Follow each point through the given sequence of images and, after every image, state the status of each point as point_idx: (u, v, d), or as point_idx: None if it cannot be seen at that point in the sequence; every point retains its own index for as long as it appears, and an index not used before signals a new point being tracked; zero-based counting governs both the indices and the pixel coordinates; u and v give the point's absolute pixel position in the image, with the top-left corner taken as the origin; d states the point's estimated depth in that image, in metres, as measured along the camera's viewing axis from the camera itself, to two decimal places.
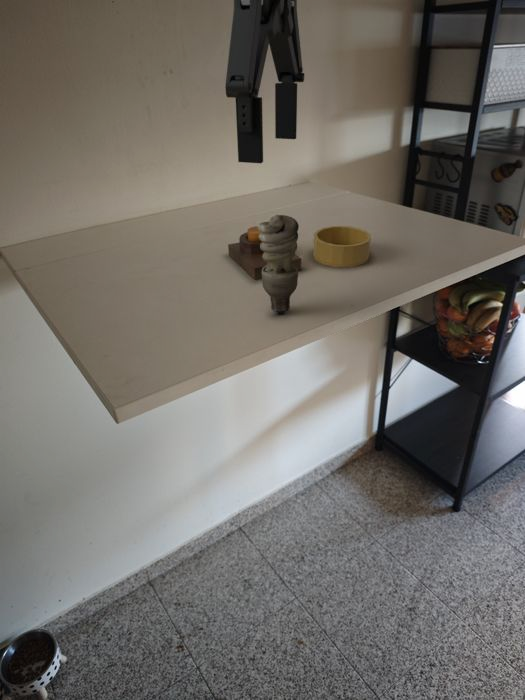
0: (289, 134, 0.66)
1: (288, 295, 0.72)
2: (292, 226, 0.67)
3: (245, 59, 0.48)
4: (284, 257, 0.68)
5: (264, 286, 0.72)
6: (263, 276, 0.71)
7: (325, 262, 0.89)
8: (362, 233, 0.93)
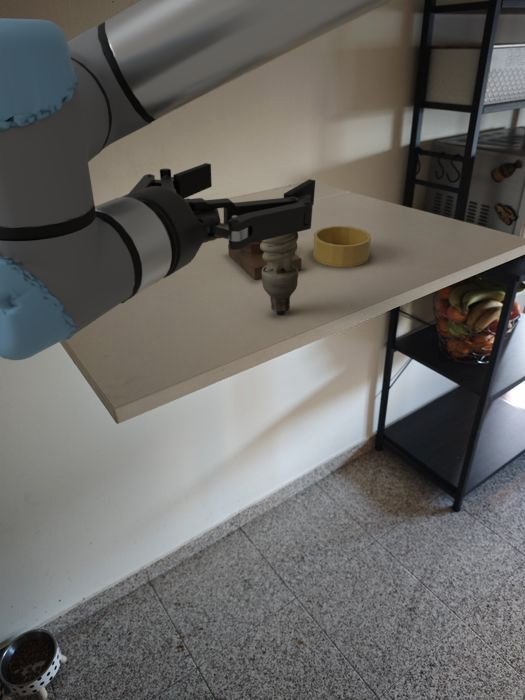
0: (208, 171, 0.60)
1: (288, 295, 0.72)
2: None
3: (291, 215, 0.47)
4: (284, 257, 0.68)
5: (264, 286, 0.72)
6: (263, 276, 0.71)
7: (325, 262, 0.89)
8: (362, 233, 0.93)
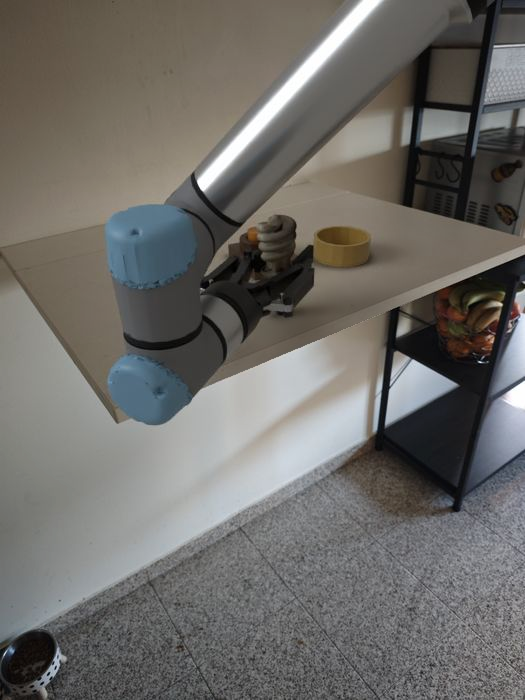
0: None
1: None
2: (290, 225, 0.67)
3: (307, 280, 0.65)
4: (283, 256, 0.68)
5: None
6: (262, 276, 0.71)
7: (325, 262, 0.89)
8: (362, 233, 0.93)
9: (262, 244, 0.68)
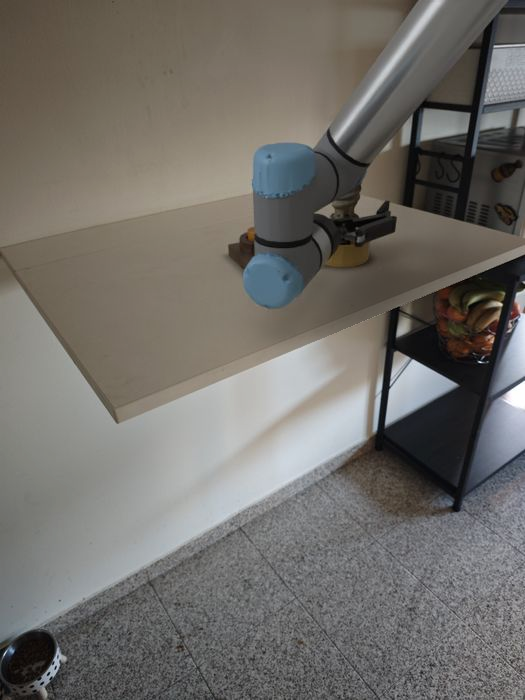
0: None
1: None
2: None
3: (386, 224, 0.79)
4: (350, 204, 0.85)
5: None
6: None
7: None
8: None
9: None
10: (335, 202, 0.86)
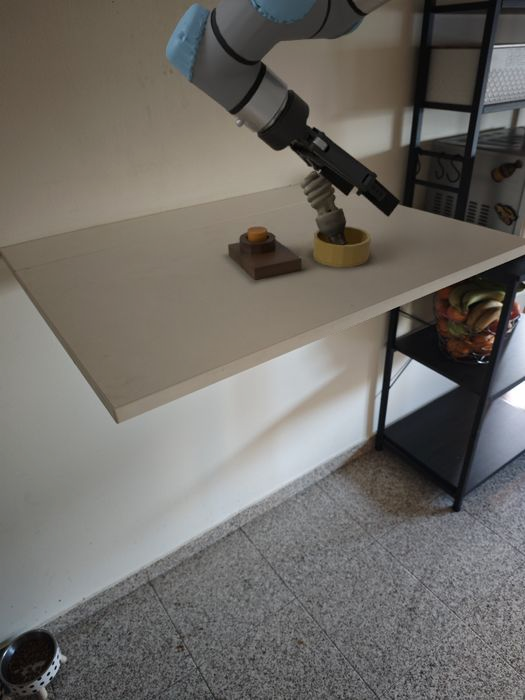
0: (352, 184, 0.84)
1: (341, 228, 0.90)
2: None
3: (358, 167, 0.67)
4: (326, 196, 0.88)
5: (320, 229, 0.90)
6: (317, 220, 0.90)
7: (325, 262, 0.89)
8: (362, 233, 0.93)
9: (309, 195, 0.89)
10: (312, 201, 0.89)
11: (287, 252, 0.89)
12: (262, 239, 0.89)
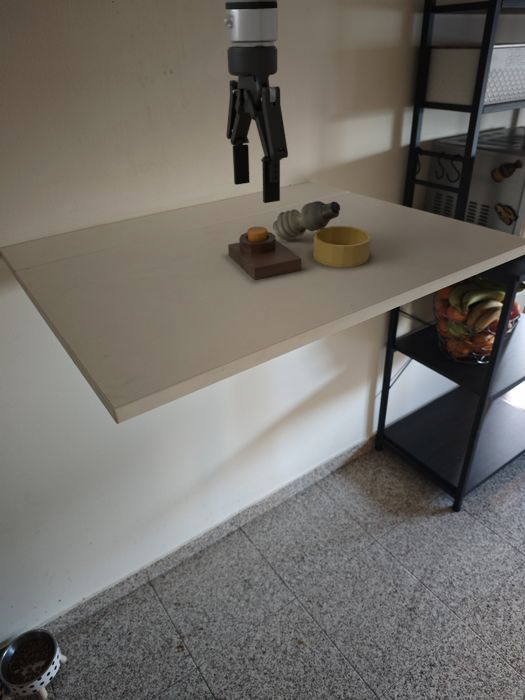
0: (245, 180, 0.90)
1: (319, 203, 0.92)
2: None
3: (281, 137, 0.74)
4: (290, 212, 0.96)
5: (311, 221, 0.92)
6: (305, 224, 0.93)
7: (325, 262, 0.89)
8: (362, 233, 0.93)
9: (286, 229, 0.96)
10: (290, 225, 0.95)
11: (287, 252, 0.89)
12: (262, 239, 0.89)
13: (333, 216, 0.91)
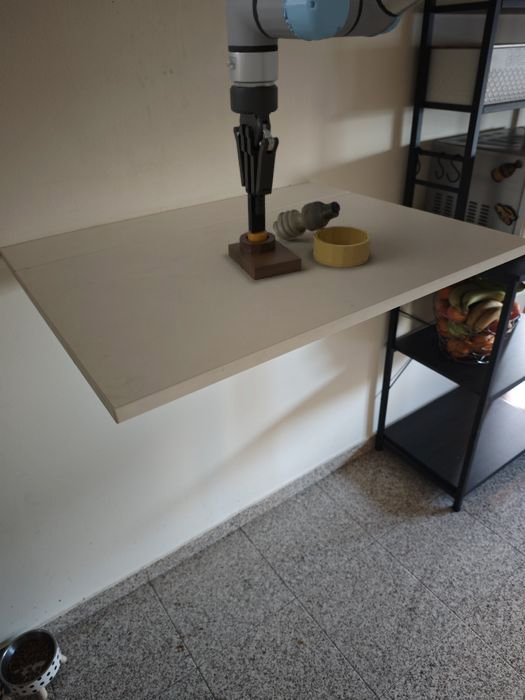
0: None
1: (319, 203, 0.92)
2: None
3: (269, 180, 0.82)
4: (291, 212, 0.96)
5: (311, 221, 0.92)
6: (305, 224, 0.93)
7: (325, 262, 0.89)
8: (362, 233, 0.93)
9: (286, 229, 0.96)
10: (290, 225, 0.95)
11: (287, 252, 0.89)
12: None
13: (333, 216, 0.91)
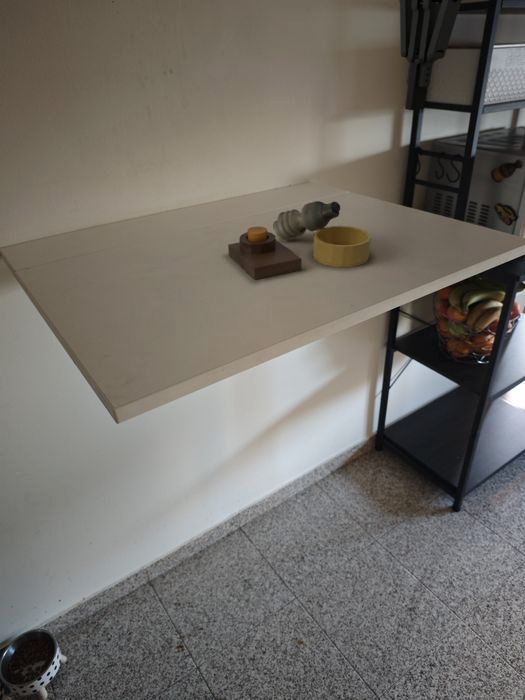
0: None
1: (319, 203, 0.92)
2: None
3: (446, 38, 0.73)
4: (291, 211, 0.96)
5: (311, 221, 0.92)
6: (305, 224, 0.93)
7: (325, 262, 0.89)
8: (362, 233, 0.93)
9: (286, 229, 0.96)
10: (291, 225, 0.95)
11: (287, 252, 0.89)
12: (262, 239, 0.89)
13: (333, 216, 0.91)
